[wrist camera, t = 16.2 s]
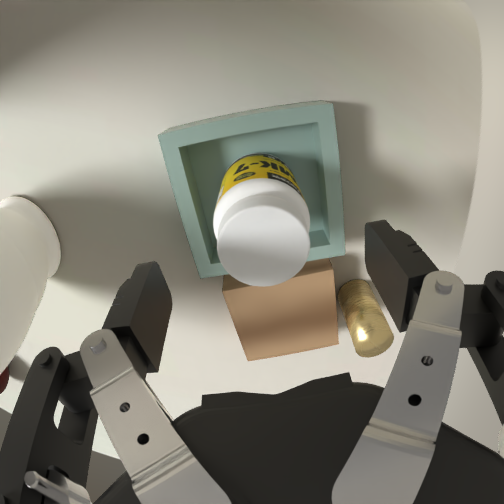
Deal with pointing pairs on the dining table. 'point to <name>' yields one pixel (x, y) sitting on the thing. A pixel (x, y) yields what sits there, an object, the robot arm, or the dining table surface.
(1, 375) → the potato
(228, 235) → the supplement bottle
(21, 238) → the jar
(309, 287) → the brown wooden square block
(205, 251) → the tray
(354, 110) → the dining table surface
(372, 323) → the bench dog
